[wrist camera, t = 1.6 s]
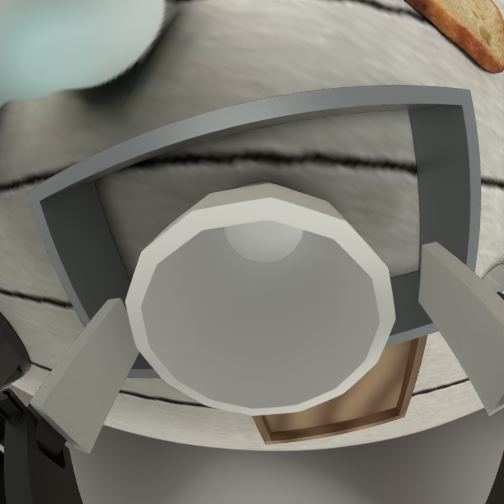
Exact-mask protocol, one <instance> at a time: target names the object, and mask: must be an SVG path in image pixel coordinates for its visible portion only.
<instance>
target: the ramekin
mask: <svg viewBox="0 0 504 504" xmlns="http://www.w3.org/2000/svg"><path fill="white" fill-rule="evenodd" d="M482 280H483V281H484V282H485V283H486V284H487V285H489V286H490V287H491V288H492V289H493V290H494V291H495V292H496V293H497V292H501V293H503V294H504V264H501V265H498V266H496V267H494V268H493V269H491V270H490V271H489V272H488V273H487V274H486V275H485V276H484V278H483V279H482Z"/></svg>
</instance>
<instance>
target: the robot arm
mask: <svg viewBox="0 0 504 504" xmlns="http://www.w3.org/2000/svg"><path fill="white" fill-rule="evenodd" d="M418 302H419V303H420V304H421V306H422V307H423V309H424V310H425V311H426V313H427V314H428V316H429V317H430V318H431V320H432V321H433V323H434V324H435V326H436V327H437V328H438V330H439V331H440V333H441V334H442V336H443V337H444V339H445V340H446V342H447V343H448V345H449V347H450V348H451V350H452V351H453V353H454V354H455V356H456V358H457V359H458V361H459V362H460V364H461V366H462V367H463V369H464V371H465V372H466V374H467V376H468V378H469V379H470V381H471V383H472V385H473V386H474V388H475V390H476V392H477V394H478V395H479V397H480V399H481V401H482V403H483V405H484V407H485V409H486V411H487V412H488V415H489V416H490V415H492V414H493V413H495V412H496V411H498V410H500V409H502V408H503V407H504V294H503V293H501V292H497V293H496V292H495V291H494V290H493V289H492V288H491V287H490V286H489V285H487V284H486V283H485V282H484V281H483V280H482V279H481V278H480V277H479V276H478V275H476V274H475V273H474V272H473V271H472V270H471V269H470V268H468V267H467V266H466V265H465V264H464V263H463V262H461V261H460V260H459V259H458V258H457V257H455V256H454V255H453V254H452V253H450V252H449V251H448V250H447V249H445V248H444V247H443V246H442V245H440V244H439V243H438V242H433V243H428V244H424V245H422V260H421V277H420V289H419V299H418ZM139 353H140V351H139V350H138V349H137V347H136V345H135V341H134V337H133V333H132V329H131V325H130V321H129V317H128V313H127V310H126V308H125V306H124V304H123V302H122V300H121V298H116V299H108V300H107V302H106V303H105V304H104V305H103V306H102V308H101V309H100V310H99V311H98V312H97V313H96V315H95V316H94V317H93V318H92V320H91V321H90V322H89V323H88V324H87V326H86V327H85V328H84V329H83V331H82V332H81V333H80V334H79V336H78V337H77V338H76V339H75V341H74V342H73V343H72V344H71V346H70V347H69V348H68V350H67V351H66V352H65V354H64V355H63V356H62V358H61V359H60V360H59V362H58V363H57V364H56V366H55V367H54V368H53V370H52V371H51V372H50V374H49V375H48V377H47V378H46V379H45V381H44V382H43V384H42V385H41V386H40V388H39V389H38V391H37V392H36V394H35V395H34V397H33V398H32V400H31V401H30V404H29V405H28V407H26V406H25V405H24V404H23V403H22V402H21V400H20V399H19V398H18V397H17V396H16V395H15V393H14V392H13V391H12V390H11V389H9V388H7V389H4V390H2V389H3V388H4V387H6V386H8V385H9V384H11V383H13V382H15V381H16V380H18V379H20V378H21V377H23V376H24V375H25V374H26V372H27V371H28V370H29V368H30V360H29V357H28V354H27V352H26V350H25V348H24V346H23V344H22V343H21V341H20V339H19V338H18V336H17V335H16V333H15V332H14V330H13V329H12V327H11V326H10V325H9V323H8V322H7V321H6V320H5V318H4V317H3V316H2V315H1V314H0V444H1V445H2V446H3V447H4V453H3V452H2V451H0V504H83V503H82V499H81V496H80V493H79V489H78V486H77V482H76V478H75V474H74V470H73V465H72V461H71V456H70V452H69V449H68V447H67V446H65V443H66V441H68V442H69V443H70V444H71V445H72V446H74V447H75V448H76V449H78V450H81V451H84V452H86V453H90V452H91V449H92V447H93V445H94V443H95V441H96V438H97V436H98V434H99V432H100V430H101V428H102V425H103V423H104V421H105V419H106V417H107V415H108V413H109V411H110V409H111V407H112V405H113V403H114V401H115V399H116V397H117V395H118V393H119V391H120V389H121V387H122V385H123V383H124V381H125V379H126V377H127V375H128V373H129V371H130V370H131V368H132V366H133V364H134V362H135V360H136V358H137V356H138V354H139ZM1 390H2V391H1ZM485 504H504V453H503V456H502V459H501V463H500V466H499V469H498V472H497V475H496V478H495V481H494V484H493V486H492V489H491V491H490V494H489V496H488V499H487V501H486V503H485Z"/></svg>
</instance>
